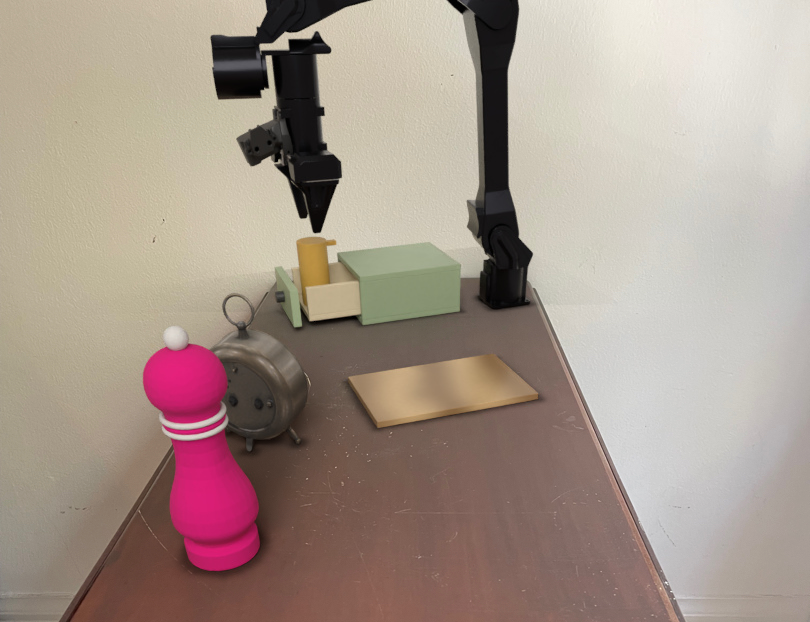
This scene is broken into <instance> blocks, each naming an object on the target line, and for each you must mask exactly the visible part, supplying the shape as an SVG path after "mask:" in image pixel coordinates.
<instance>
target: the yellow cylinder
mask: <svg viewBox="0 0 810 622" xmlns="http://www.w3.org/2000/svg"><path fill="white" fill-rule="evenodd" d="M295 243H296V252H297V262H298V267H299V272H300V280H301V289H302V298H303V304H304V305H305V306H307V300H306V291H305V287H310V286H318V285H325V284H330V275H329V264H328V263H329V253H328V252H329V251H328V247H331V246H332V247H333V246H337V240H336V239H335V238H334V239H333V238H332V239H326V237H322V236H305V237H301V238H298V239H297V240H296V241H295Z"/></svg>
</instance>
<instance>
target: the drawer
mask: <svg viewBox="0 0 810 622" xmlns="http://www.w3.org/2000/svg"><path fill="white" fill-rule="evenodd" d="M328 264H329V275H330V284H325V285H318V286H310V287H305V291H306V300H307V306H305V305H304V304H303V298H302V289H301V280H300V272H299V266H295V267H291V276H292V278H290V276H289V274H288V273H287V272H286V270H285V268H284V267H283V266H274V274H275V283H276V289H277V290H276V291H274V297H275V298H274V299H275V302H276V304H280V306H281V307H282V309H283V311H284V312H285V314H286V316H287V317H288V319H289V321H290V323H291V325H292V326H293V327H294V328H300V327H303V321H302V313H301V310H302V312H303V313H304V315H305V317H306V318H307V320H308V321H309V322H314V321H315V322H316V321H324V320H330V319H338V318H345V317H352V316H355V315H359V314H361V306H360V290H359V280H358V279H357V278H356V277H355V276H354V275H353V274H352V273H351V272H350V271H349V270H348V268H347V267H346V266H345V265H344V264H343V263H342V262H338V261H337V262H328Z"/></svg>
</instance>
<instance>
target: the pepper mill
mask: <svg viewBox="0 0 810 622" xmlns="http://www.w3.org/2000/svg"><path fill="white" fill-rule="evenodd" d="M162 340H163V341H162V342H163V343H164V347H162V348H159V349H158V350H157V351H155V353H153V354H152V355H151V356H150V357H149V358H148V360H147V362H146V363H145V365H144V367H143V371H142V386H143V391H144V393H145V396H146V398H147V400H148V401H149V403H150V404H151V405H152V406H153V407H154V408H155V409H157V410H159V411H160V412H159V414H158V421H159V422H160V423H161V430H162V433H163V434H164V435H165V436H166V437H168V438H169V439H170V441H171V444H172V447H173V453H174V458H175V471H174V476H173V477H174V478H173V482H172V486H171V490H170V494H169V513H170V514H169V515H170V518H171V523H172V525H173V527H174V529H175V530H176V531H177V532H178V533H179V535H181V536H182V537H183V543H184V547H185V548H184V549H185V551H186V555H187V558H188V561H189V562H190V563H191V564H192V565H193V566H195V567H197V568H199V569H201V570H204V571H210V572H221V571H223V572H224V571H228V570H233V569H236V568H239V567H241V566H243V565H245V564H246V563H248V562H249V561H251V560H252V559H253V558H254V557H255V556H256V554H257V553H259V549H260V547H261V546H260V545H261V541H260V535H259V529H258V526H257V524H256V522H255V521H256V519H257V518H258V515H259V511H260V509H259V508H260V505H259V504H260V503H259V499H258V496H257V493H256V490H255V488H254V486H253V484H252V482H251V480H250V479H249V477H248V476H247V475H246V473H245V472H244V470H242V468H241V466H240V465H239V464H238V462H237V461H236V459H235V458H234V456H233V454H232V452H231V450H230V447H229V444H228V441H227V437H226V430H225V429H226V426H227V424H228V416H227V414H226V406H225V404H224V403H223V402H222V401H221V400H222V399H223V397H224V396H225V393H226V391H227V386H228V383H227V375H226V372H225V369H224V367H223V364H222V363H221V361H220V360H219V358H218V357H217V356H216V355H215V354H214V353H213V352H212V351H210V348H209V349H208V348H207V347H204V346H203V345H200V344H196V343H190V338H189V334H188V332H187V331H186V329H184V328H183V327H182V326H180V325H170V326H168V327H167V328H165V329H164V331H163V333H162Z"/></svg>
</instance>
